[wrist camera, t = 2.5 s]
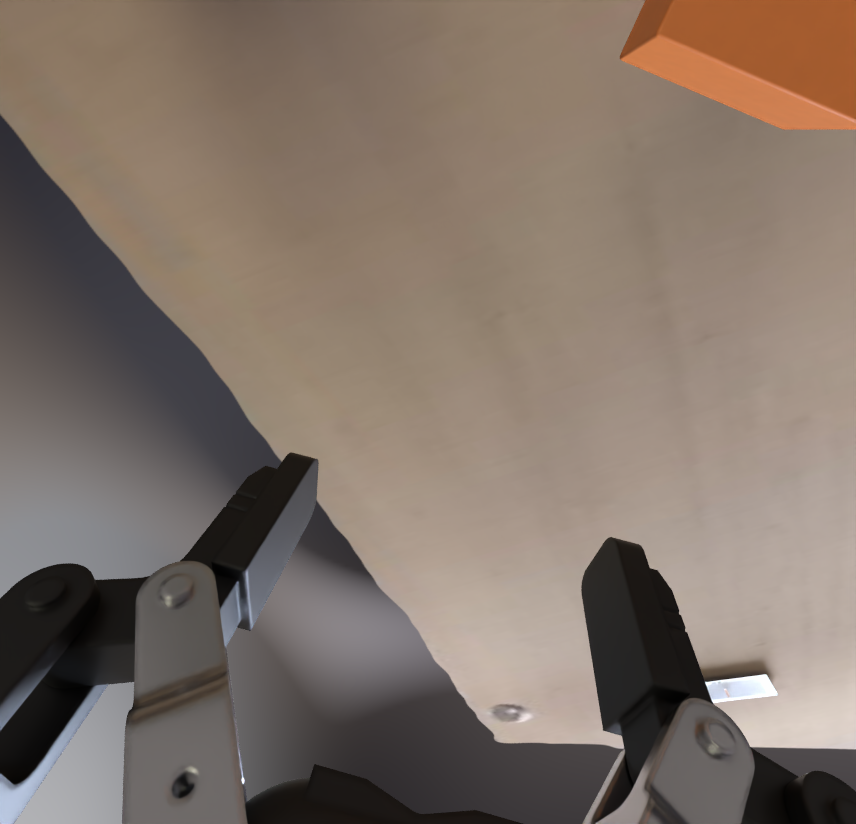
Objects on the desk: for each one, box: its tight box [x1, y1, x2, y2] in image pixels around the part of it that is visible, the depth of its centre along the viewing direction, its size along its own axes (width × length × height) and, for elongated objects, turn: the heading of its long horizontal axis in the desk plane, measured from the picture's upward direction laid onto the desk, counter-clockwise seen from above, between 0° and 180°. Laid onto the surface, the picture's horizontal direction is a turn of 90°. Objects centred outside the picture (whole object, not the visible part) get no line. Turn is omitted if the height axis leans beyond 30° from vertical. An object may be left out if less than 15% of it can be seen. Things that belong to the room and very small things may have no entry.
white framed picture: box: [705, 674, 778, 702], centre depth 79 cm, size 8×15×2 cm, turn 126°
